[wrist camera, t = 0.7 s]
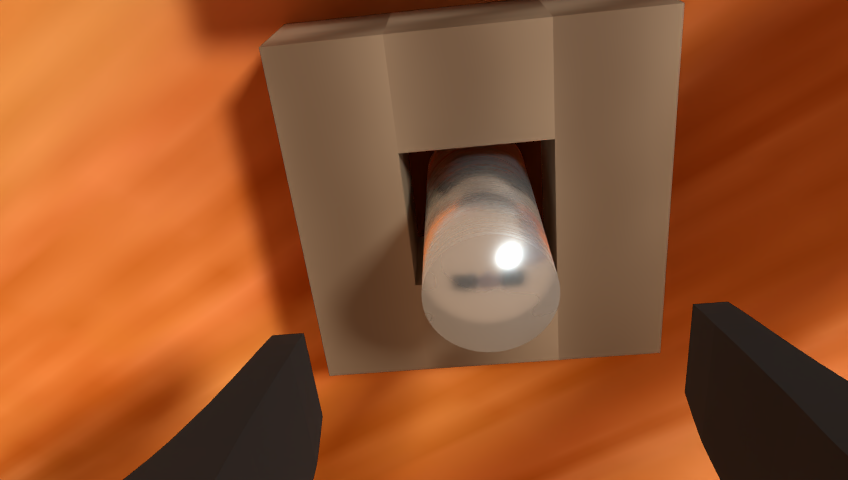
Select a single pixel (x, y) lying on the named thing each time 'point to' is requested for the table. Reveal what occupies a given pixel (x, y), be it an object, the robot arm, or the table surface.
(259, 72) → the table surface
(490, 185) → the metal peg
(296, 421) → the robot arm
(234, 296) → the table surface
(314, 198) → the socket block
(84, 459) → the table surface
